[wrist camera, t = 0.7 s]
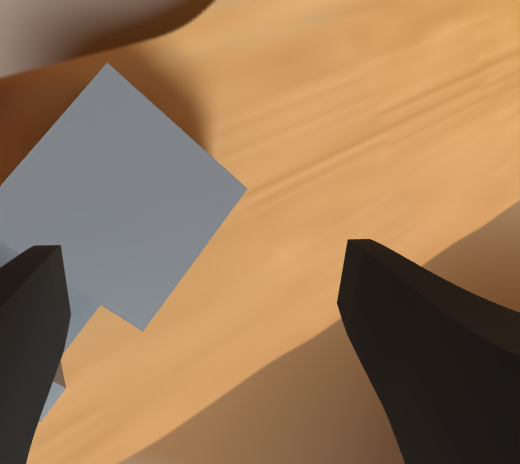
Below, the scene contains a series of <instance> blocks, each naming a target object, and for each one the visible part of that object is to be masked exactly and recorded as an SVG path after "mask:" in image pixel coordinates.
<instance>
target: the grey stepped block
mask: <svg viewBox="0 0 520 464" xmlns="http://www.w3.org/2000/svg"><path fill="white" fill-rule="evenodd" d="M246 190H247V188H246V187H245V186H244V185H243V184H242V183H241V182H240V181H238V180H237V179H236V178H235V177H234V176H233V175H232V174H231V173H230V172H228V171H227V170H226V169H225V168H224V167H223V166H222V165H221V164H220V163H218V162H217V161H216V160H215V159H214V158H213V157H212V156H211V155H209V154H208V153H207V152H206V151H205V150H204V149H203V148H202V147H201V146H199V145H198V144H197V143H196V142H195V141H194V140H193V139H192V138H191V137H189V136H188V135H187V134H186V133H185V132H184V131H183V130H182V129H181V128H179V127H178V126H177V125H176V124H175V123H174V122H173V121H172V120H171V119H169V118H168V117H167V116H166V115H165V114H164V113H163V112H162V111H161V110H159V109H158V108H157V107H156V106H155V105H154V104H153V103H152V102H151V101H149V100H148V99H147V98H146V97H145V96H144V95H143V94H142V93H141V92H139V91H138V90H137V89H136V88H135V87H134V86H133V85H132V84H131V83H129V82H128V81H127V80H126V79H125V78H124V77H123V76H122V75H121V74H119V73H118V72H117V71H116V70H115V69H114V68H113V67H112V66H111V65H109V64H108V63H106V65H105V66H104V67H103V68H102V69H101V70H100V72H99V73H98V74H97V75H96V76H95V77H94V78H93V80H92V81H91V82H90V83H89V84H88V85H87V87H86V88H85V89H84V90H83V91H82V92H81V93H80V95H79V96H78V97H77V98H76V99H75V100H74V102H73V103H72V104H71V105H70V106H69V107H68V108H67V110H66V111H65V112H64V113H63V114H62V115H61V117H60V118H59V119H58V120H57V121H56V122H55V123H54V125H53V126H52V127H51V128H50V129H49V130H48V132H47V133H46V134H45V135H44V136H43V137H42V138H41V140H40V141H39V142H38V143H37V144H36V145H35V147H34V148H33V149H32V150H31V151H30V152H29V153H28V155H27V156H26V157H25V158H24V159H23V160H22V161H21V163H20V164H19V165H18V166H17V167H16V168H15V170H14V171H13V172H12V173H11V174H10V175H9V176H8V178H7V179H6V180H5V181H4V182H3V183H2V185H1V186H0V268H1V267H2V266H3V265H5V264H6V263H8V262H9V261H11V260H12V259H13V258H15V257H16V256H18V255H19V254H21V253H22V252H24V251H25V250H27V249H28V248H30V247H32V246H34V245H61V249H62V256H63V263H64V270H65V276H66V283H67V290H68V296H69V303H70V310H71V318H70V323H69V329H68V334H67V339H66V343H65V348H64V351H65V350H66V349H67V348H68V346H69V345H70V344H71V342H72V341H73V340H74V338H75V337H76V336H77V334H78V333H79V332H80V331H81V329H82V328H83V327H84V325H85V324H86V323H87V321H88V320H89V319H90V317H91V316H92V315H93V314H94V312H95V311H96V310H97V308H98V307H99V306H100V305H102V306H104V307H105V308H107V309H108V310H110V311H112V312H113V313H115V314H116V315H118V316H119V317H121V318H123V319H124V320H126V321H127V322H129V323H131V324H132V325H134V326H135V327H137V328H138V329H140V330H142V331H144V329H145V328H146V326H147V325H148V324H149V322H150V321H151V320H152V318H153V317H154V316H155V314H156V313H157V311H158V310H159V309H160V307H161V306H162V305H163V303H164V302H165V301H166V299H167V298H168V296H169V295H170V294H171V292H172V291H173V290H174V288H175V287H176V286H177V284H178V283H179V281H180V280H181V279H182V277H183V276H184V275H185V273H186V272H187V271H188V269H189V268H190V266H191V265H192V264H193V262H194V261H195V260H196V258H197V257H198V256H199V254H200V253H201V251H202V250H203V249H204V247H205V246H206V245H207V243H208V242H209V240H210V239H211V238H212V236H213V235H214V234H215V232H216V231H217V230H218V228H219V227H220V225H221V224H222V223H223V221H224V220H225V219H226V217H227V216H228V215H229V213H230V212H231V210H232V209H233V208H234V206H235V205H236V204H237V202H238V201H239V200H240V198H241V197H242V195H243V194H244V193H245V191H246ZM63 353H64V352H63ZM65 389H66V386H65V381H64V376H63V371H62V366H61V361H60V363H59V366H58V369H57V372H56V375H55V378H54V380H53V383H52V386H51V389H50V391H49V394H48V397H47V400H46V402H45V405H44V408H43V411H42V414H41V416H40V419H39V421H42V419H43V418H44V417H45V415H46V414H47V413H48V411H49V410H50V409H51V407H52V406H53V405H54V403H55V402H56V401H57V399H58V398H59V397H60V395H61V394H62V393H63V391H64V390H65Z"/></svg>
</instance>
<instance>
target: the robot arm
mask: <svg viewBox="0 0 520 464" xmlns="http://www.w3.org/2000/svg"><path fill="white" fill-rule="evenodd" d="M337 305H338V308H339V311H340V314H341V318H342V321H343V324H344V327H345V329H346V332H347V335H348V337H349V339H350V341H351V343H352V345H353V347H354V349H355V351H356V354H357V355H358V357H359V360H360V362H361V363H362V365H363V367H364V369H365V371H366V373H367V375H368V377H369V379H370V381H371V383H372V385H373V387H374V389H375V391H376V393H377V395H378V397H379V399H380V401H381V403H382V405H383V407H384V410H385V412H386V414H387V417H388V419H389V421H390V424H391V427H392V429H393V432H394V435H395V437H396V440H397V443H398V445H399V448H400V451H401V453H402V456H403V459H404V462H405V464H520V313H519V312H516V311H513V310H511V309H508V308H506V307H503V306H501V305H498V304H496V303H494V302H491V301H489V300H486V299H484V298H482V297H479V296H477V295H475V294H473V293H471V292H469V291H466V290H464V289H462V288H460V287H458V286H456V285H454V284H452V283H450V282H448V281H446V280H445V279H443V278H441V277H439V276H437V275H435V274H433V273H432V272H430V271H428V270H426V269H424V268H422V267H421V266H419V265H417V264H416V263H414V262H412V261H410V260H409V259H407V258H405V257H403V256H402V255H400V254H398V253H396V252H394V251H393V250H391V249H389V248H387V247H385V246H384V245H382V244H380V243H378V242H375V241H373V240H371V239H350V240H348V242H347V247H346V253H345V259H344V265H343V271H342V277H341V283H340V289H339V294H338V300H337ZM70 318H71V310H70V303H69V296H68V290H67V283H66V276H65V270H64V263H63V256H62V249H61V245H34V246H32V247H30V248H28V249H27V250H25V251H24V252H22V253H21V254H19V255H18V256H16V257H15V258H13V259H12V260H11V261H9V262H8V263H6V264H5V265H3V266H2V267H1V268H0V464H26V462H27V457H28V453H29V450H30V446H31V443H32V440H33V437H34V433H35V430H36V427H37V425H38V422H39V419H40V416H41V414H42V411H43V408H44V405H45V402H46V400H47V397H48V394H49V391H50V389H51V386H52V383H53V380H54V378H55V375H56V372H57V369H58V366H59V363H60V360H61V358H62V355H63V352H64V348H65V343H66V339H67V334H68V329H69V323H70Z"/></svg>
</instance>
